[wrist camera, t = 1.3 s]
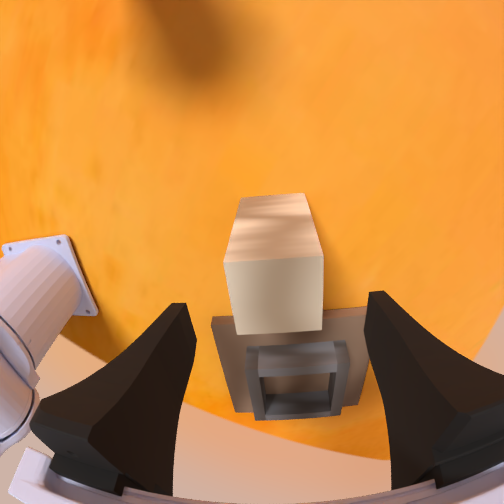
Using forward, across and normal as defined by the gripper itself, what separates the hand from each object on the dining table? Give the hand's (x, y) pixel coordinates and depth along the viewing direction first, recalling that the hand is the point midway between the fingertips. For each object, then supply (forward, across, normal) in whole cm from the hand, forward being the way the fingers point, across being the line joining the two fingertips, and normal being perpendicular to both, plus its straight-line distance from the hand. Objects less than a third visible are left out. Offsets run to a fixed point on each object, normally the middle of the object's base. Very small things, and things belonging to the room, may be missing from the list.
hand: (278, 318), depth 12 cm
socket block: (+9, -1, +14) cm, 17 cm away
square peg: (+9, 0, 0) cm, 9 cm away
